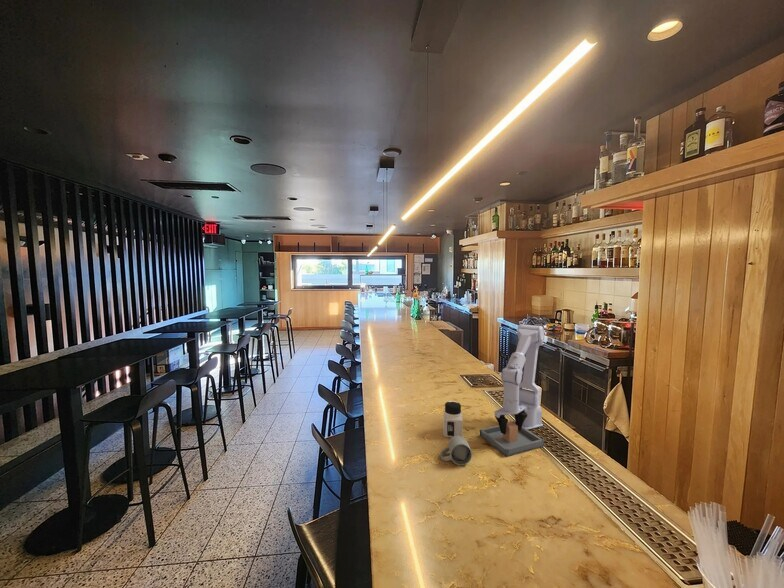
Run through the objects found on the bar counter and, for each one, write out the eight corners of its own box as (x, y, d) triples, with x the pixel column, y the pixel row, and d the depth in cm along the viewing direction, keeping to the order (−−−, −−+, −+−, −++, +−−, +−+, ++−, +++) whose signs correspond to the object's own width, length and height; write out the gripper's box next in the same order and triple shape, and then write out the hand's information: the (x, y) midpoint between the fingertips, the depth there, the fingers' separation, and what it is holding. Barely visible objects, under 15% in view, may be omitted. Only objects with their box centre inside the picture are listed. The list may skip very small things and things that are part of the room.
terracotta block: (510, 435, 127) (510, 421, 127) (517, 440, 123) (517, 425, 123) (502, 437, 126) (502, 423, 125) (509, 442, 122) (509, 427, 122)
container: (462, 438, 126) (462, 407, 126) (443, 436, 128) (443, 406, 127) (462, 429, 134) (462, 399, 133) (443, 427, 136) (443, 398, 135)
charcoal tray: (514, 427, 135) (514, 421, 135) (544, 446, 120) (544, 440, 120) (479, 435, 129) (479, 429, 128) (506, 456, 114) (506, 450, 113)
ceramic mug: (467, 452, 117) (466, 432, 116) (472, 465, 109) (472, 444, 108) (439, 452, 117) (438, 433, 117) (442, 466, 109) (441, 445, 109)
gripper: (518, 391, 129) (517, 423, 130) (489, 397, 124) (489, 430, 125) (531, 398, 123) (530, 431, 124) (501, 404, 118) (501, 438, 119)
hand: (510, 431), depth 124 cm, fingers open, 7 cm apart
